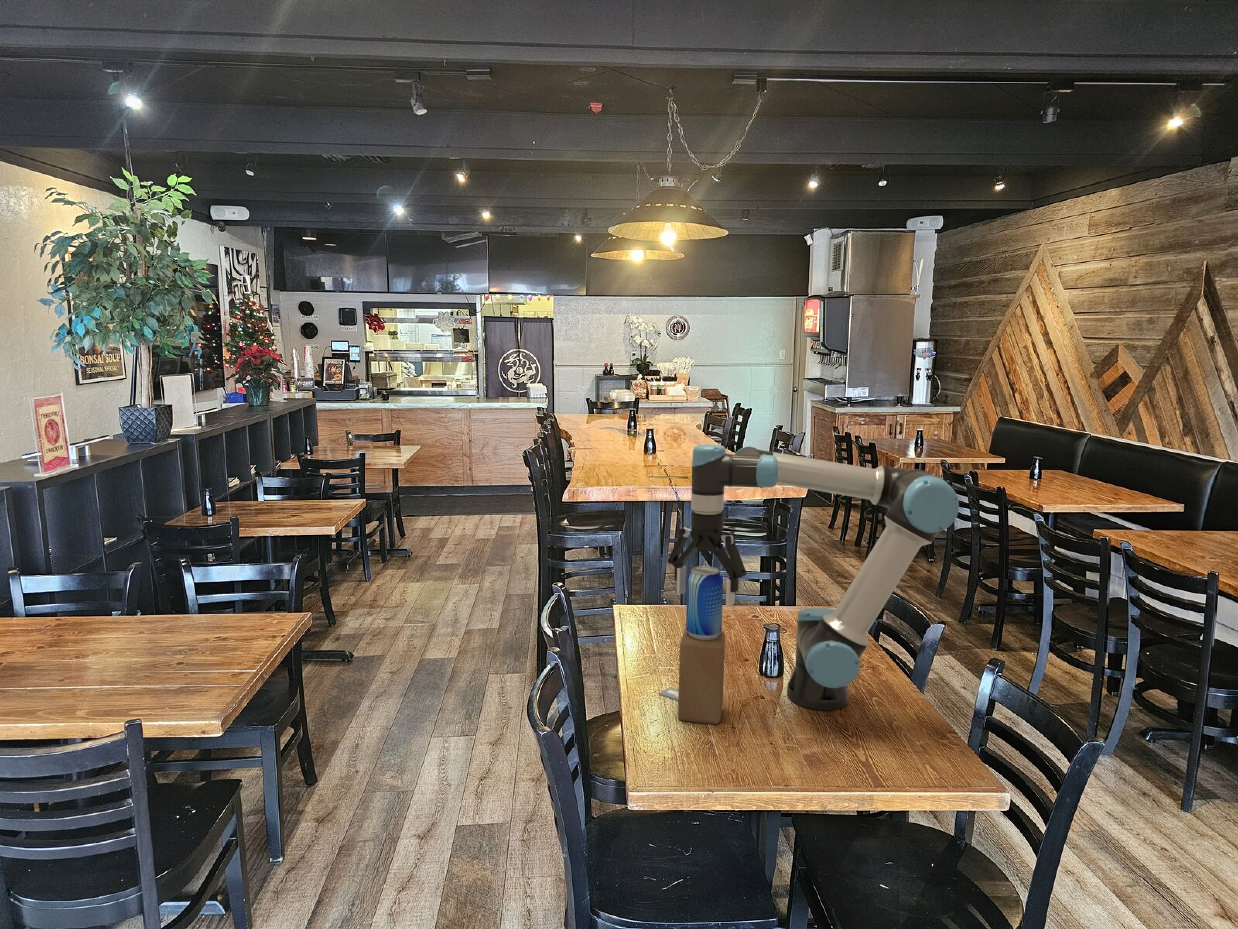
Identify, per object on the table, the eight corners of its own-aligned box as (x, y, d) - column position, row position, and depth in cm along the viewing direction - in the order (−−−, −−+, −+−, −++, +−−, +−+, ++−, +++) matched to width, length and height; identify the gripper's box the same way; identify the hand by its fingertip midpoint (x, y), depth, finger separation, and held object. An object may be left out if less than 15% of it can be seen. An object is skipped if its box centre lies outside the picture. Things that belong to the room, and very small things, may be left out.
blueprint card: (696, 696, 197) (696, 695, 197) (685, 703, 193) (685, 701, 193) (670, 688, 202) (670, 686, 202) (659, 694, 198) (659, 692, 198)
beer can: (702, 626, 191) (704, 563, 188) (728, 635, 184) (730, 570, 182) (678, 634, 185) (680, 569, 183) (705, 644, 179) (707, 577, 177)
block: (719, 726, 181) (722, 644, 179) (677, 721, 183) (679, 640, 181) (722, 707, 191) (725, 629, 188) (682, 703, 193) (684, 626, 190)
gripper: (763, 515, 176) (759, 606, 179) (672, 502, 191) (670, 585, 194) (746, 521, 170) (743, 614, 173) (654, 506, 185) (653, 592, 188)
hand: (705, 599), depth 183 cm, fingers open, 13 cm apart
